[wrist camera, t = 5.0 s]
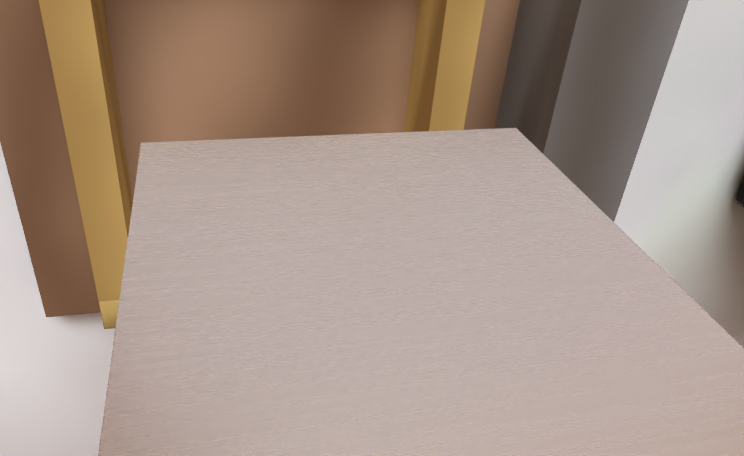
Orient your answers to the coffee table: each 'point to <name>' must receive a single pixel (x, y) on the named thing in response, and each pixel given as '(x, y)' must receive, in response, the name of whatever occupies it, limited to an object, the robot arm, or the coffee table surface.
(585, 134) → the chassis
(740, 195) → the robot arm
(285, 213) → the brushed metal block
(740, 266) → the coffee table surface
